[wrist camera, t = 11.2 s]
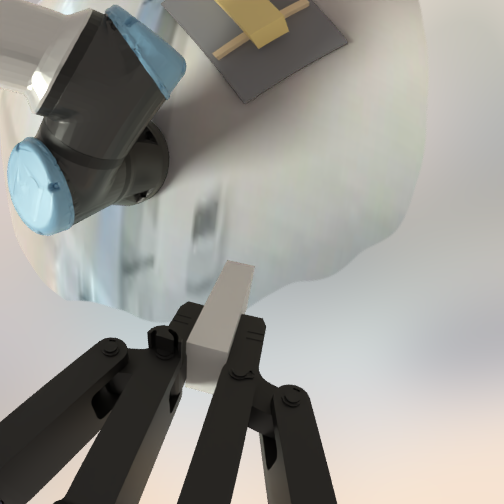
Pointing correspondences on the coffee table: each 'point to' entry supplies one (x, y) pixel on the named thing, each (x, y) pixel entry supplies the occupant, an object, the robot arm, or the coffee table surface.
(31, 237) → the coffee table surface
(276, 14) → the mustard block
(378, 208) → the coffee table surface
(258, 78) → the tipping mat
